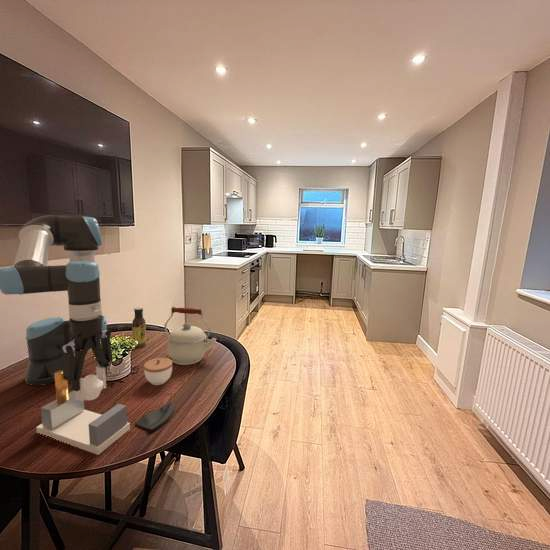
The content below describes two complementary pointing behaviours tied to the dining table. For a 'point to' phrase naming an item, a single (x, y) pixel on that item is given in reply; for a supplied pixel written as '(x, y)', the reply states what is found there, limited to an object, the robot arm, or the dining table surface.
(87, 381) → the white steamed bun
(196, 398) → the dining table surface
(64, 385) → the ram
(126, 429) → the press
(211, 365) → the dining table surface
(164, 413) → the curved wedge
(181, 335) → the kettle
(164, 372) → the lidded jar
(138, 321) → the sauce bottle
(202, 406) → the dining table surface
